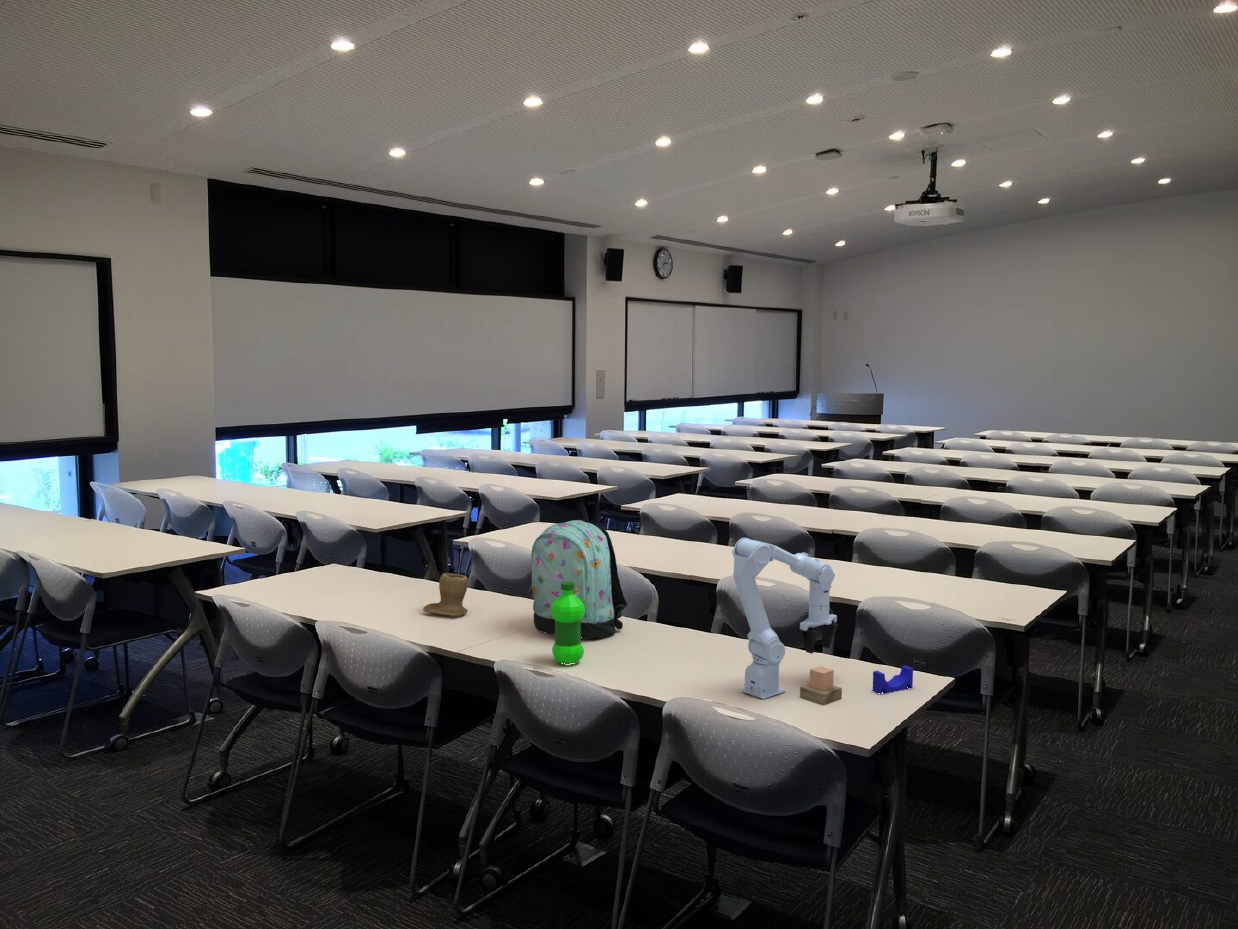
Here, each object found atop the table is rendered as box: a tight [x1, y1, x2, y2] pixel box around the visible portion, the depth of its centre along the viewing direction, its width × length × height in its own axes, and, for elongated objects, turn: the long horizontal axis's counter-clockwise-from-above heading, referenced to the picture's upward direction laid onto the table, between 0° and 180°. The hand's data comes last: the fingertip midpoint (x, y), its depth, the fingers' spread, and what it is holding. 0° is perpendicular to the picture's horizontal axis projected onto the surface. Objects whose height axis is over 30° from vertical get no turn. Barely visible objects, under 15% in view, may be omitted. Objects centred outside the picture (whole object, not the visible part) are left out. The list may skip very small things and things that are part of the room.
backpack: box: [527, 519, 628, 640], centre depth 321 cm, size 32×24×39 cm
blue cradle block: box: [872, 665, 914, 695], centre depth 269 cm, size 12×4×6 cm, turn 117°
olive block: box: [799, 682, 843, 706], centre depth 262 cm, size 8×8×3 cm
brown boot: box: [422, 572, 469, 617], centre depth 346 cm, size 15×12×15 cm
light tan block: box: [809, 665, 834, 691], centre depth 261 cm, size 4×4×5 cm
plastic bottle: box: [551, 582, 585, 664], centre depth 290 cm, size 10×10×25 cm
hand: (817, 650), depth 274 cm, fingers open, 7 cm apart
